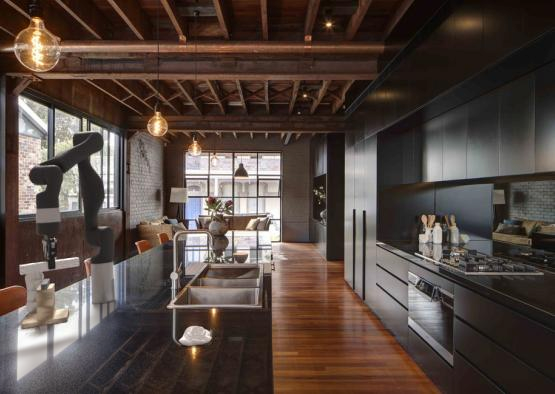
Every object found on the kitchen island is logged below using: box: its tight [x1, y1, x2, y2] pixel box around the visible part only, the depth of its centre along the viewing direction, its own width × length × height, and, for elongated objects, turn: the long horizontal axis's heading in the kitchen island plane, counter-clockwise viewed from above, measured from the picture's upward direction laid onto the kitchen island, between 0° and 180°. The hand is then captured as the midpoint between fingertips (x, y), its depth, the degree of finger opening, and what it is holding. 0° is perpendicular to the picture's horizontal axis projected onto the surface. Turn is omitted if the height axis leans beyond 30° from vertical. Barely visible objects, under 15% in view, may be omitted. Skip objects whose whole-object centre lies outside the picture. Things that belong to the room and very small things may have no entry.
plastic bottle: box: [24, 272, 45, 314], centre depth 149 cm, size 6×7×20 cm
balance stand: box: [20, 278, 70, 330], centre depth 138 cm, size 14×14×14 cm
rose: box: [178, 325, 213, 347], centre depth 111 cm, size 10×4×10 cm
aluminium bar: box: [18, 256, 80, 276], centre depth 131 cm, size 18×3×3 cm, turn 131°
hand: (51, 268), depth 131 cm, fingers closed on aluminium bar, 3 cm apart
